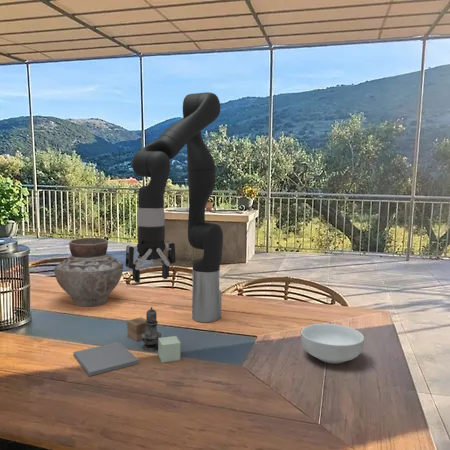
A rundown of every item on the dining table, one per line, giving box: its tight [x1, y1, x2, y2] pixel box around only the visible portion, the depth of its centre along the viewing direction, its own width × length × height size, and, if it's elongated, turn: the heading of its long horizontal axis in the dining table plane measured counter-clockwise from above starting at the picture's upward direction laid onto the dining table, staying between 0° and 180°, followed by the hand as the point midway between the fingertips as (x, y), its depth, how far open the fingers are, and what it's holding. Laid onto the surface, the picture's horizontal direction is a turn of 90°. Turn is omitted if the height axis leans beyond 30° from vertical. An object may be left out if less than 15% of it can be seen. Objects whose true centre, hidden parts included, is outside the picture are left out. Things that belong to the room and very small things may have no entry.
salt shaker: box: [141, 306, 163, 352], centre depth 124 cm, size 6×6×12 cm
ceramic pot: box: [53, 237, 124, 308], centre depth 163 cm, size 25×25×24 cm
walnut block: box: [126, 316, 147, 342], centre depth 132 cm, size 5×5×5 cm
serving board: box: [73, 341, 140, 377], centre depth 116 cm, size 13×14×1 cm
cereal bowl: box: [300, 323, 365, 364], centre depth 120 cm, size 17×17×7 cm
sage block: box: [157, 335, 181, 363], centre depth 118 cm, size 5×5×5 cm
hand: (151, 280), depth 122 cm, fingers open, 8 cm apart
